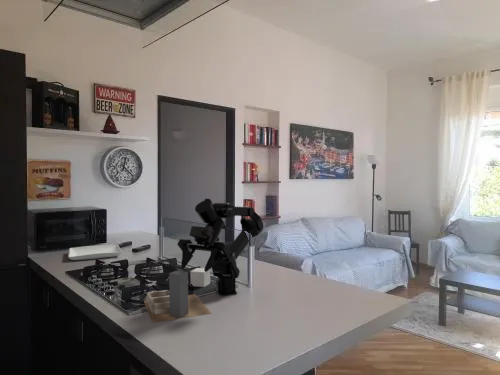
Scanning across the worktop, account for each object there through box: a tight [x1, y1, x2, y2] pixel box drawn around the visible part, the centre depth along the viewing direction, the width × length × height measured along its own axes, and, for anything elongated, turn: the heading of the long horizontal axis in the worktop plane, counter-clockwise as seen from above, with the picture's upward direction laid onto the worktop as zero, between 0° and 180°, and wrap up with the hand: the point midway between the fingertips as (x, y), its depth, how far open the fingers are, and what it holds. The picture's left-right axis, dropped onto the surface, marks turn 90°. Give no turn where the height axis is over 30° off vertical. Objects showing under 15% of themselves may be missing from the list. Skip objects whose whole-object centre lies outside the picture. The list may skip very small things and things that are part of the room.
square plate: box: [68, 243, 123, 261], centre depth 211 cm, size 27×27×4 cm
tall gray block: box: [168, 270, 189, 319], centre depth 113 cm, size 4×4×13 cm
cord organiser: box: [143, 289, 212, 323], centre depth 120 cm, size 18×21×4 cm
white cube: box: [190, 267, 211, 288], centre depth 149 cm, size 6×6×6 cm
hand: (193, 269), depth 120 cm, fingers open, 9 cm apart
